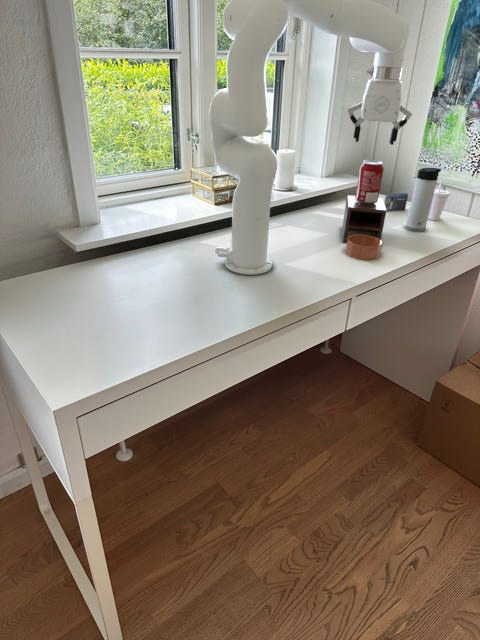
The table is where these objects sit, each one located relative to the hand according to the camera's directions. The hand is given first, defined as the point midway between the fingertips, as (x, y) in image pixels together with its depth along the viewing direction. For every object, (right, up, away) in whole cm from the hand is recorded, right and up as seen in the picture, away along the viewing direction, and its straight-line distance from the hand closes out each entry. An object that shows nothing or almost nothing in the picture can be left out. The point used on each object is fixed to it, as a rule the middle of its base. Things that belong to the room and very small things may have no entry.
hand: (373, 142), depth 134 cm
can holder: (-2, -31, +3) cm, 31 cm away
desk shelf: (0, -24, +15) cm, 28 cm away
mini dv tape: (+19, -10, +42) cm, 47 cm away
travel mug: (+21, -20, +24) cm, 38 cm away
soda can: (0, -15, +10) cm, 18 cm away
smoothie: (+31, -15, +34) cm, 48 cm away
